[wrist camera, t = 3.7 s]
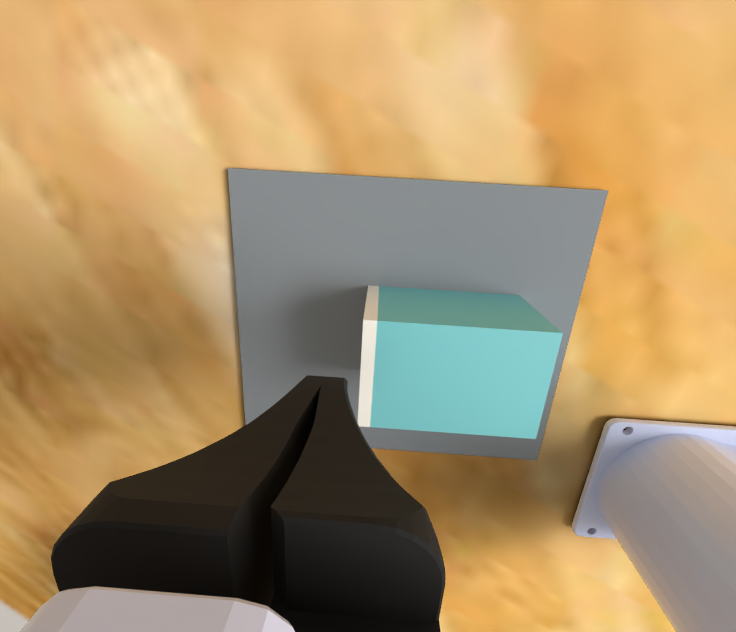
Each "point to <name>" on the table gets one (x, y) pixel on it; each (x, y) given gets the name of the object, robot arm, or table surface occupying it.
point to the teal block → (454, 362)
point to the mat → (393, 274)
